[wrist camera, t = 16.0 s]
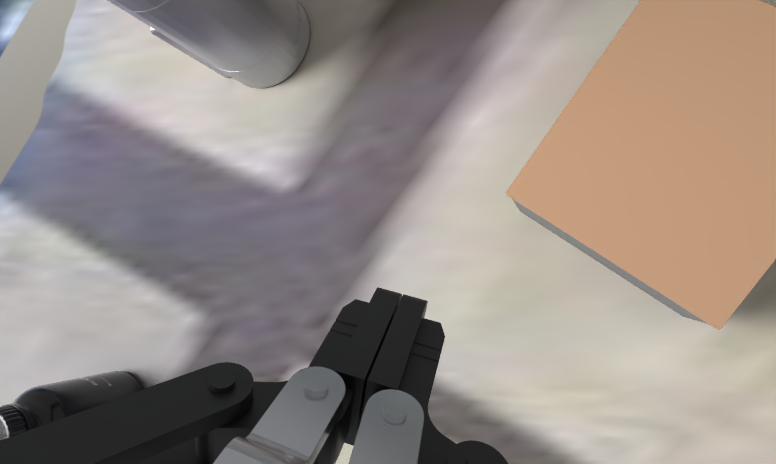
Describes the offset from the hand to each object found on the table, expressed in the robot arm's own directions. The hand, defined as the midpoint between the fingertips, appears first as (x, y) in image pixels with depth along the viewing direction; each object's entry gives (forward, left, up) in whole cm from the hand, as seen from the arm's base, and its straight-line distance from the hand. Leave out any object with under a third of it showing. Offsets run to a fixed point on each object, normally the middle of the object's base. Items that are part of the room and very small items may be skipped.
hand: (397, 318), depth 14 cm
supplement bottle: (-37, -12, -25) cm, 46 cm away
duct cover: (+12, +9, -19) cm, 24 cm away
